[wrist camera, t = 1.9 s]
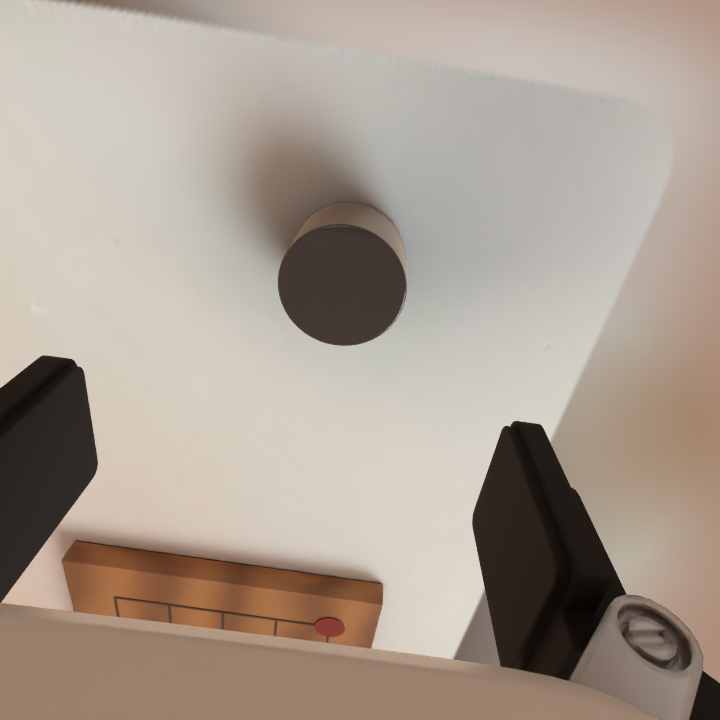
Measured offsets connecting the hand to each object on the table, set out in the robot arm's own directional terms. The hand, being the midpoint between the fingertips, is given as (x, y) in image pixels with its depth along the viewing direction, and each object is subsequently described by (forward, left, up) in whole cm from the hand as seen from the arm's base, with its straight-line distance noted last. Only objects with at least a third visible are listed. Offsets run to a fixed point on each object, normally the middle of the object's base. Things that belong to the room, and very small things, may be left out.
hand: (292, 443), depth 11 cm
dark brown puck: (0, 0, -12) cm, 12 cm away
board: (+20, +24, -12) cm, 33 cm away
